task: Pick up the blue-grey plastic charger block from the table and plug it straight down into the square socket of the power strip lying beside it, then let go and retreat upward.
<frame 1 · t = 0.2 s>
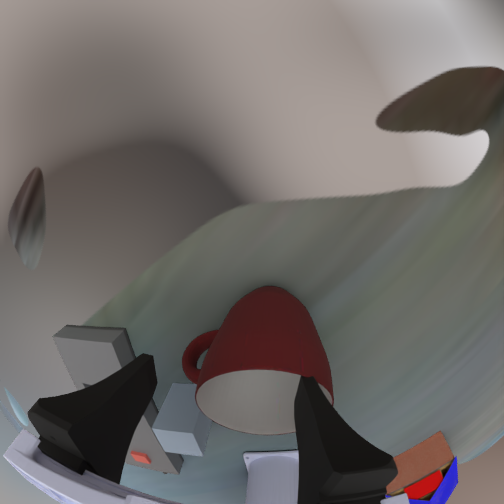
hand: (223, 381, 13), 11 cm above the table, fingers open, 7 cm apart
mug: (256, 307, 23), on the table, touching gripper
power strip: (127, 405, 28), on the table
charger: (194, 396, 26), on the table
blue-topped brown box: (417, 463, 30), on the table
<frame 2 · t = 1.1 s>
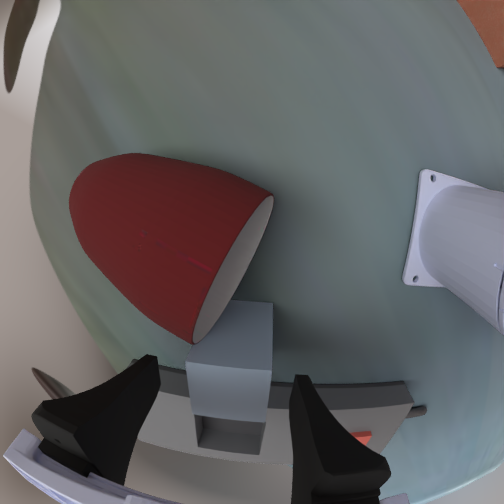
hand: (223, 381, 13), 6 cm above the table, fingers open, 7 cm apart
mug: (94, 205, 15), point 2 cm above the table, touching charger
power strip: (266, 415, 21), on the table
charger: (242, 325, 19), on the table, touching mug
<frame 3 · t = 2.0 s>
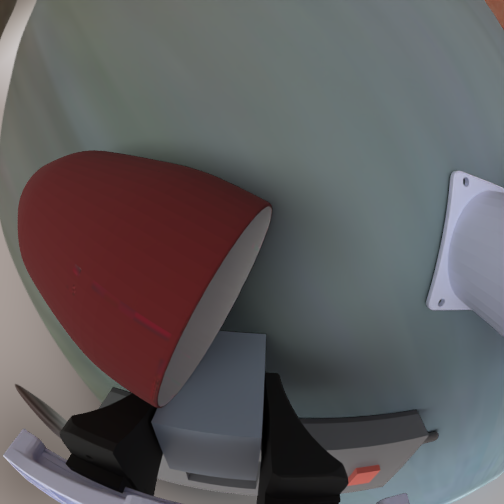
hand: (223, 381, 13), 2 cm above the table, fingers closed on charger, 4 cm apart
mug: (54, 216, 11), point 2 cm above the table
power strip: (263, 448, 18), on the table
charger: (229, 359, 15), on the table, touching gripper
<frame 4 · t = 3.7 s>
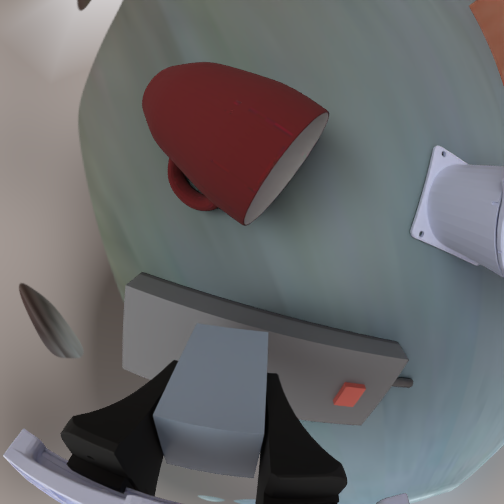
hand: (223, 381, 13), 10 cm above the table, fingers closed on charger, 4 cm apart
mug: (159, 105, 16), point 2 cm above the table
power strip: (262, 355, 23), on the table
charger: (230, 356, 15), point 7 cm above the table, touching gripper
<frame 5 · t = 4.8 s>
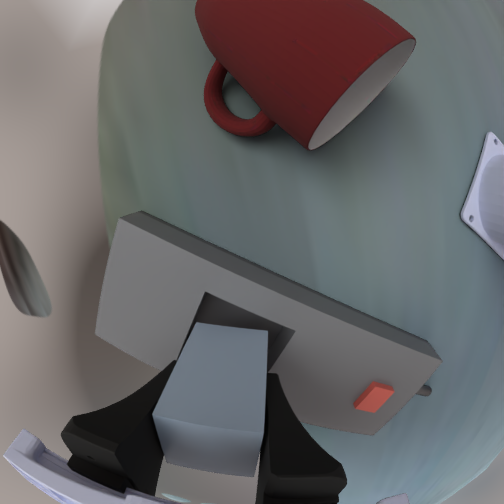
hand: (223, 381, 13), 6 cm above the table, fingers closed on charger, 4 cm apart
mug: (210, 16, 11), point 2 cm above the table
power strip: (276, 339, 19), on the table
charger: (230, 355, 15), point 4 cm above the table, touching gripper
when the fingers open (4 cm above the table, at t = 5.7 s): charger stays where it is, resting on power strip.
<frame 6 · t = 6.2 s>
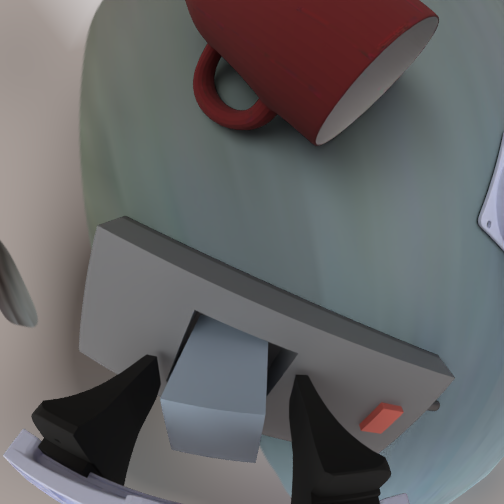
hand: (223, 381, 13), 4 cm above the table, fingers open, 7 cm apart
power strip: (276, 357, 17), on the table
charger: (232, 346, 16), resting on power strip
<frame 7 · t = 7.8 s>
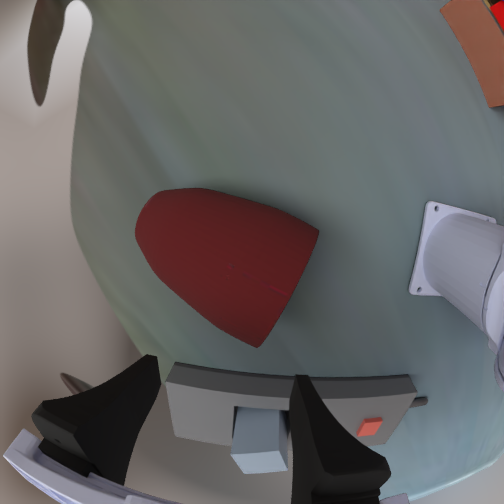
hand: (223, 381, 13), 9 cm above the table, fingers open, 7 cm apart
mug: (152, 228, 18), point 2 cm above the table
power strip: (291, 406, 25), on the table
charger: (263, 408, 24), resting on power strip
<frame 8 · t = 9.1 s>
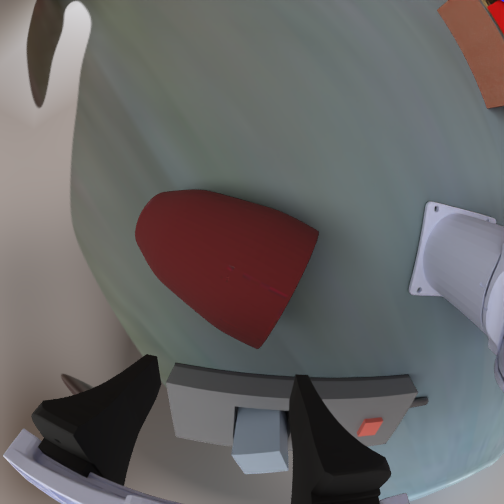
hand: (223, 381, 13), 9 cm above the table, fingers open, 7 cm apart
mug: (152, 229, 18), point 2 cm above the table
power strip: (292, 407, 25), on the table
charger: (264, 409, 24), resting on power strip
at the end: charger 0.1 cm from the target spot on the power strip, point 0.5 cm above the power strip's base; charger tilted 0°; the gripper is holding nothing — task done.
